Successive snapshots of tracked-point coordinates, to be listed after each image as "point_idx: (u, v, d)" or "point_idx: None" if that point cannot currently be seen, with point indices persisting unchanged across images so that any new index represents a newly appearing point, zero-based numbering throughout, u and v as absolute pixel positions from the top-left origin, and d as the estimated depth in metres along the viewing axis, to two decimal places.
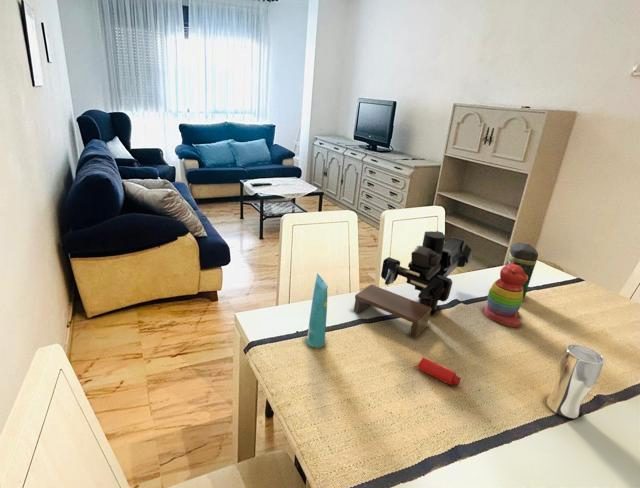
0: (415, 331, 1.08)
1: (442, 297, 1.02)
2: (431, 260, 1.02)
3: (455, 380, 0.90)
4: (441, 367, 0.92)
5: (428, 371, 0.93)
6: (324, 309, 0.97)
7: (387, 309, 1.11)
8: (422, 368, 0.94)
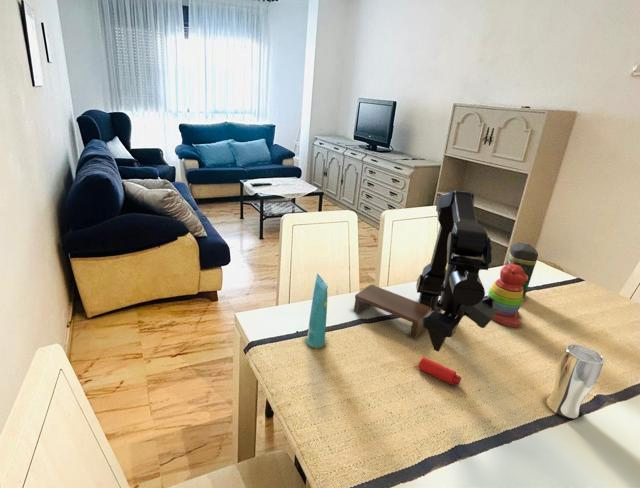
0: (415, 331, 1.08)
1: None
2: None
3: (456, 379, 0.90)
4: (442, 366, 0.93)
5: (429, 370, 0.93)
6: (324, 309, 0.97)
7: (387, 309, 1.11)
8: (423, 367, 0.94)
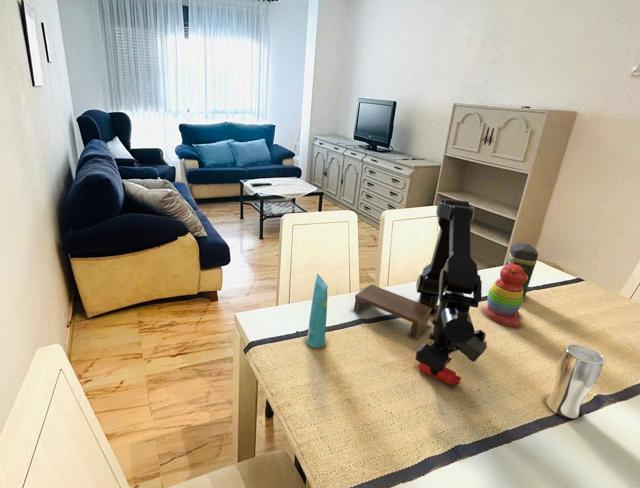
0: (415, 331, 1.08)
1: None
2: None
3: (456, 379, 0.90)
4: None
5: (429, 369, 0.93)
6: (324, 309, 0.97)
7: (387, 309, 1.11)
8: (423, 366, 0.94)
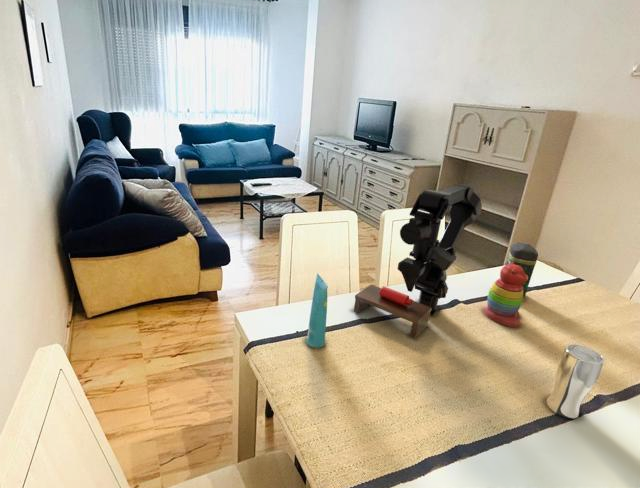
0: (415, 331, 1.08)
1: None
2: None
3: (408, 300, 1.12)
4: (398, 292, 1.14)
5: (387, 294, 1.15)
6: (324, 309, 0.97)
7: (387, 309, 1.11)
8: (383, 292, 1.16)
